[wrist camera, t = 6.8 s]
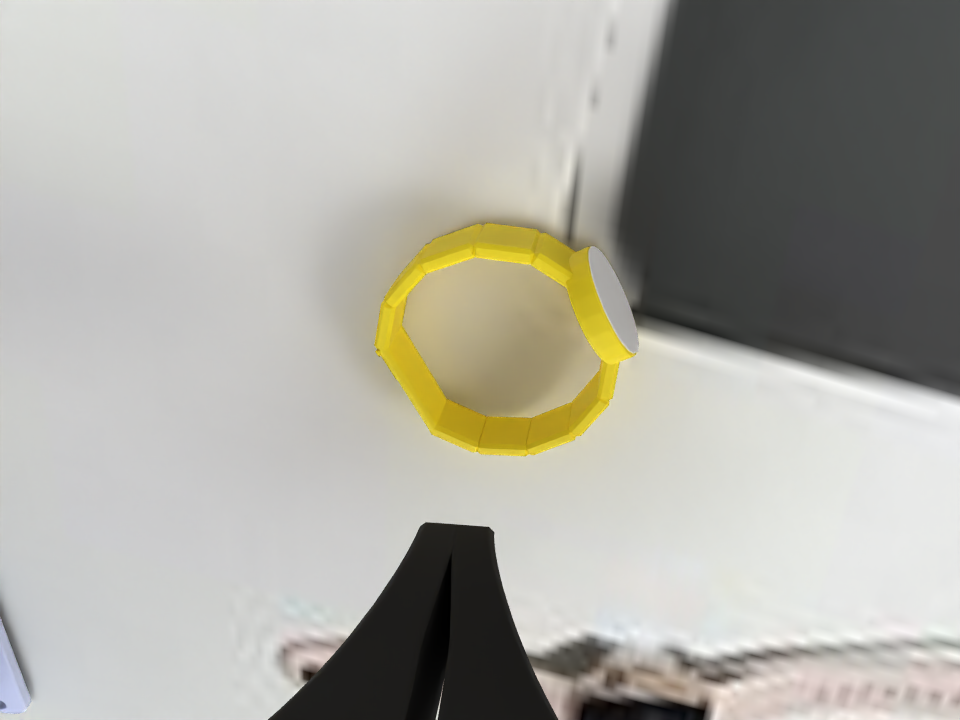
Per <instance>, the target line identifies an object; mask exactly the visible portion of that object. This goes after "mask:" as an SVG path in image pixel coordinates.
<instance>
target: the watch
mask: <svg viewBox="0 0 960 720" xmlns="http://www.w3.org/2000/svg"><path fill="white" fill-rule="evenodd" d="M474 257H476V258H483V259H491V260H498V261H506V262H513V263H520V264H528V265H529V264H531V266H533V267H534V268H536V269H537V270H539V271H541V272H542V273H544V274H545V275H547V276H548V277H550V278H552V279H553V280H555V281H556V282H558V283H559V284H561V285H562V286H564V287H566V288H567V291H568V295H569V298H570V302H571V305H572V307H573V310H574V313H575V315H576V318H577V320H578V323H579V325H580V327H581V329H582V331H583V333H584V335H585V337H586V339H587V340H588V342H589V344H590V345H591V347H592V348H593V350H594V351H595V353H596V354H597V355H598V356H599V357H600V359H601V364H600V369H599V371H598V372H597V374H596V375H595V376H594V377H593V378H592V379H591V381H590V382H589V383H588V384H587V385H586V386H585V387H584V389H583V390H582V391H581V392H580V393H579V394H578V395H577V397H576V398H575V399H574V400H573V401H572V402H571V403H568V404H565V405H563V406H560V407H558V408H555V409H553V410H550V411H548V412H545V413H543V414H540V415H538V416H535V417H533V418H532V419H531V418H517V417H486V416H485V415H482V414H480V413H478V412H475V411H473V410H471V409H469V408H466V407H464V406H462V405H459V404H457V403H455V402H453V401H450V400H448V399H446V397H445V395H444V394H443V392H442V390H441V389H440V387H439V386H438V384H437V382H436V381H435V379H434V377H433V376H432V374H431V372H430V371H429V369H428V367H427V366H426V364H425V363H424V361H423V359H422V358H421V356H420V354H419V353H418V351H417V349H416V348H415V346H414V344H413V343H412V341H411V339H410V338H409V336H408V335H407V333H406V331H405V330H404V328H403V326H402V322H403V317H404V312H405V306H406V301H407V296H408V294H409V293H410V291H411V290H412V289H413V288H414V287H415V286H416V285H417V284H418V283H419V281H420V280H421V279H422V278H423V277H424V276H425V275H426V273H430V272H433V271H436V270H439V269H442V268H445V267H448V266H451V265H454V264H457V263H460V262H463V261H466V260H469V259H472V258H474ZM384 298H385V299H384V300H383V302H382V303H381V308H380V314H379V320H378V326H377V332H376V338H375V344H374V346H375V347H376V348H377V350H376V351H375V352H376V353H377V355H378V356H379V357H380V355H381V357H382V358H383V360H384V361H385V363H386V364H387V366H388V368H389V369H390V371H391V372H392V374H393V376H394V377H395V379H397V380H398V382H399V383H400V385H401V386H402V388H403V389H404V391H405V393H406V394H407V396H408V397H409V399H410V400H411V402H412V404H413V405H414V407H415V408H416V410H417V412H418V413H419V415H420V416H421V418H422V419H423V421H424V423H425V424H426V426H427V427H428V429H429V430H430V433H431V434H432V435H434V436H436V437H439V438H441V439H443V440H445V441H448V442H450V443H452V444H455V445H457V446H459V447H462V448H464V449H466V450H469V451H471V452H478V453H480V454H485V455H508V456H527V455H528V454H531V455H535V454H538V453H541V452H543V451H546V450H549V449H551V448H554V447H557V446H560V445H562V444H565V443H568V442H570V441H573V440H575V437H576V436H581V435H582V434H583V433H584V432H585V431H586V430H587V428H588V427H589V426H590V425H591V424H592V423H593V422H594V421H595V420H596V419H597V418H598V416H599V415H600V414H601V413H602V412H603V411H604V410H605V409H606V408H607V407H608V406H609V400H610V399H612V398H613V394H614V388H615V383H616V378H617V373H618V368H619V363H620V361H623V360H625V359H628V358H631V357H633V356H635V355H636V353H637V352H638V347H639V342H638V334H637V329H636V325H635V321H634V318H633V315H632V312H631V309H630V306H629V303H628V300H627V298H626V295H625V293H624V290H623V288H622V286H621V284H620V282H619V280H618V278H617V276H616V274H615V272H614V270H613V268H612V267H611V265H610V263H609V261H608V260H607V259H606V257H605V256H604V254H603V253H602V252H601V251H600V250H599V249H598V248H597V247H595V246H591V247H586V248H584V249H582V250H580V251H578V252H575V251H574V250H572V249H571V248H569V247H567V246H566V245H564V244H563V243H561V242H560V241H558V240H557V239H555V238H554V237H552V236H550V235H549V234H547V233H540V232H539V231H538V230H537V229H531V228H523V227H515V226H508V225H500V224H492V223H486V224H484V225H483V226H482V225H480V224H476V225H473V226H470V227H467V228H464V229H461V230H458V231H456V232H453V233H450V234H447V235H444V236H441V237H438V238H436V239H433V240H432V242H431V243H430V244H426V245H425V246H424V247H423V248H422V250H421V251H420V252H419V253H418V254H417V255H416V256H415V258H414V259H413V260H412V261H411V262H410V263H409V264H408V266H407V267H406V268H405V269H404V270H403V271H402V272H401V274H400V275H399V276H398V277H397V279H396V280H395V282H394V283H393V285H392V286H391V288H390V289H389V291H388V292H387V294H386V295H385V297H384Z"/></svg>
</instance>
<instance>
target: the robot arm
mask: <svg viewBox="0 0 960 720" xmlns="http://www.w3.org/2000/svg"><path fill="white" fill-rule="evenodd" d="M443 682H444V685H443ZM442 687H443V691H442ZM441 692H442V697H441V703H440V709H439V715H438V720H558V718H557V716H556V714H555V713H554V711H553V709H552V707H551V705H550V703H549V701H548V699H547V697H546V695H545V694H544V691H543V689H542V687H541V685H540V683H539V681H538V679H537V677H536V675H535V673H534V671H533V668H532V666H531V664H530V662H529V659H528V657H527V655H526V652H525V650H524V647H523V645H522V642H521V640H520V637H519V635H518V632H517V629H516V627H515V624H514V621H513V618H512V615H511V612H510V609H509V606H508V603H507V599H506V596H505V593H504V590H503V586H502V582H501V578H500V574H499V569H498V565H497V559H496V553H495V544H494V532H493V531H492V530H491V529H490V528H489V527H483V526H469V525H455V524H442V523H428V522H426V523H424V524H423V525H421V526H420V528H419V530H418V532H417V534H416V537H415V539H414V541H413V542H412V544H411V546H410V548H409V550H408V552H407V554H406V555H405V557H404V559H403V560H402V562H401V564H400V565H399V567H398V569H397V570H396V572H395V574H394V575H393V577H392V578H391V580H390V581H389V583H388V584H387V586H386V587H385V589H384V590H383V592H382V593H381V595H380V596H379V598H378V599H377V600H376V602H375V603H374V605H373V606H372V607H371V609H370V610H369V611H368V612H367V614H366V615H365V616H364V618H363V619H362V620H361V622H360V623H359V624H358V626H357V627H356V628H355V629H354V631H353V632H352V633H351V635H350V636H349V637H348V638H347V639H346V641H345V642H344V643H343V644H342V645H341V647H340V648H339V649H338V650H337V651H336V652H335V654H334V655H333V656H332V657H331V658H330V659H329V660H328V661H327V662H326V663H325V665H324V666H323V667H322V668H321V669H320V670H319V671H318V672H317V673H316V674H315V675H314V676H313V677H312V678H311V679H310V680H309V681H308V682H307V683H306V684H305V685H304V686H303V687H302V688H301V689H300V690H299V691H298V692H297V693H296V694H295V695H294V696H293V697H292V698H291V699H290V700H289V701H288V702H287V703H286V704H285V705H284V706H283V707H282V708H281V709H280V710H278V711H277V712H276V713H275V714H274V715H273V716H272V717H270V718H269V719H268V720H436V715H437V710H438V706H439V701H440V696H441ZM30 703H31V698H30V695H29V692H28V690H27V687H26V684H25V682H24V679H23V676H22V674H21V671H20V668H19V666H18V663H17V660H16V658H15V655H14V652H13V650H12V647H11V644H10V642H9V639H8V636H7V634H6V631H5V628H4V626H3V623H2V620H1V618H0V712H2V713H13V714H19V713H23V712H25V710H26V709H27V707H28V706H29V705H30Z"/></svg>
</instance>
